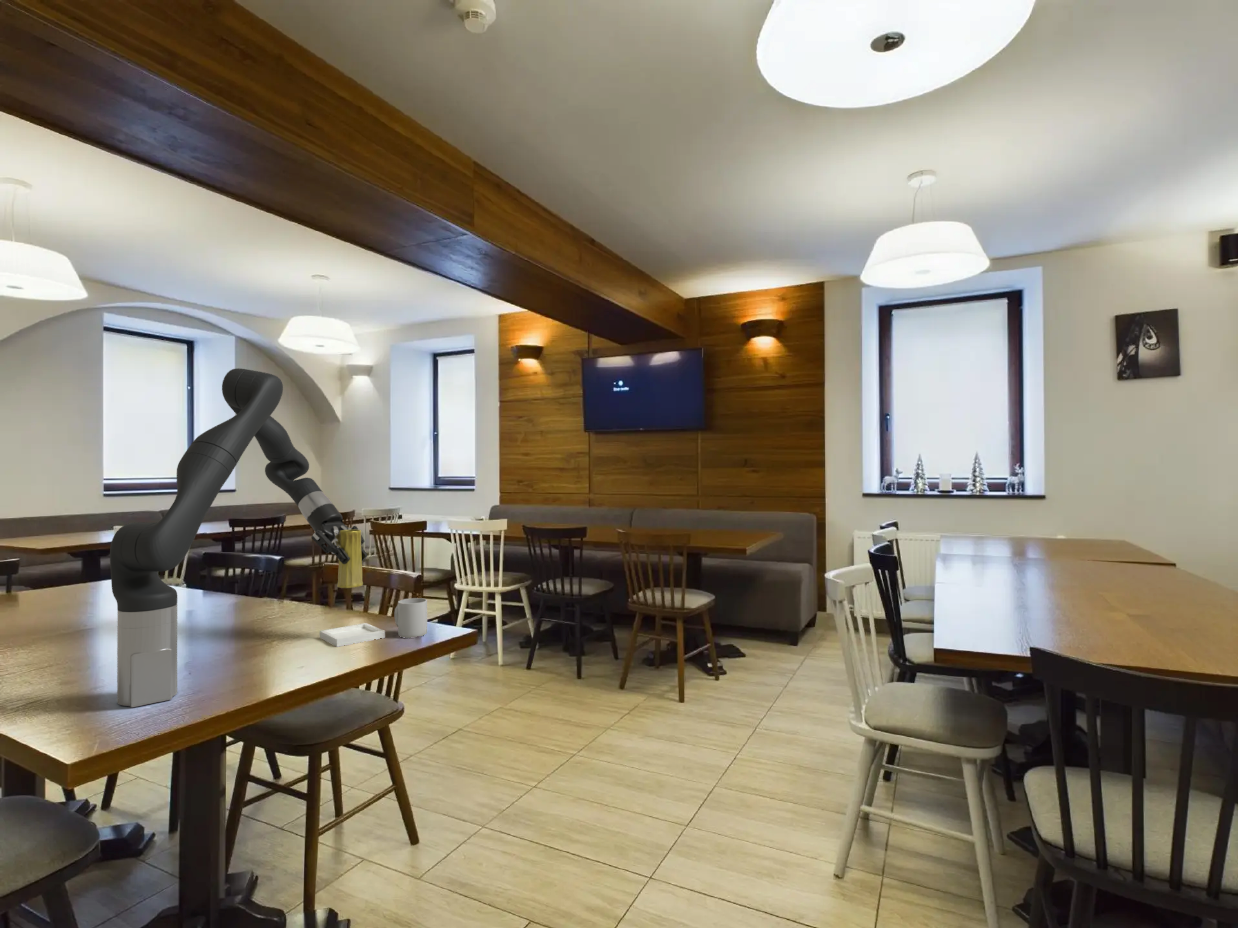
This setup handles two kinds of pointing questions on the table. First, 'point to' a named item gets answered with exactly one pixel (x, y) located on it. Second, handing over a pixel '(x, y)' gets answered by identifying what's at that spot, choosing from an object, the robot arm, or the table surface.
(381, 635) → the dish
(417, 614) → the cup
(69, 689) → the table surface
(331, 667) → the table surface
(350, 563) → the vase
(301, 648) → the table surface
